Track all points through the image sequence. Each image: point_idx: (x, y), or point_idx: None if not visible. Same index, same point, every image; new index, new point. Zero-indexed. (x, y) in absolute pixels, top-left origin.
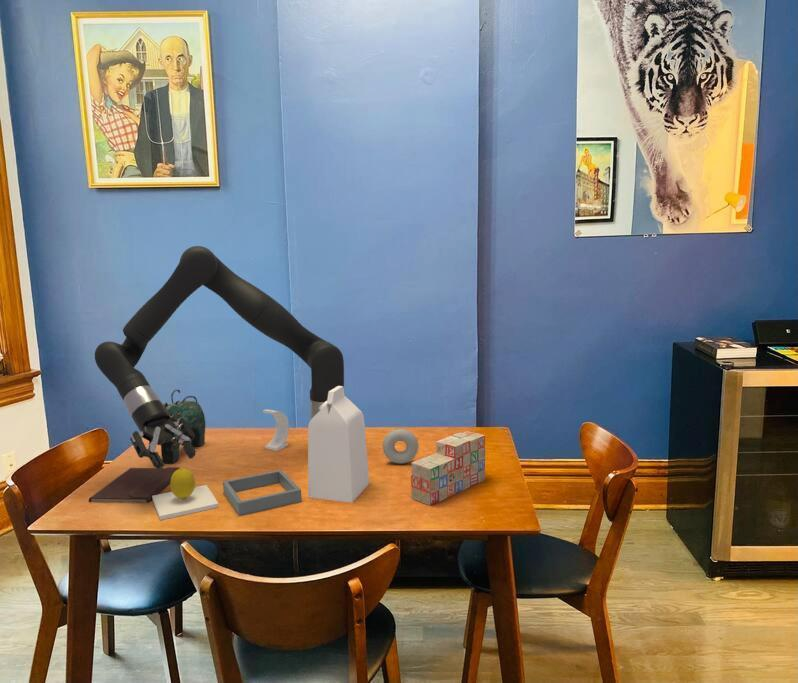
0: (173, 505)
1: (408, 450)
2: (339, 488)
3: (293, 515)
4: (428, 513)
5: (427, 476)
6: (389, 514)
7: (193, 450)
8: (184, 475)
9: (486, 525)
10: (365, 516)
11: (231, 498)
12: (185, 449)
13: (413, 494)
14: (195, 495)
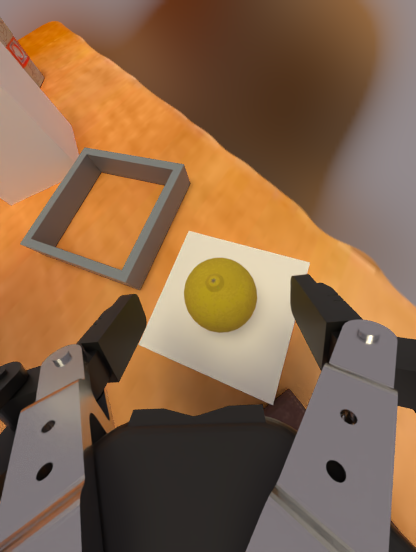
0: (259, 292)
1: None
2: (57, 117)
3: (141, 138)
4: (62, 68)
5: (5, 29)
6: (81, 83)
7: (115, 303)
8: (222, 259)
9: (64, 33)
10: (98, 92)
11: (164, 218)
12: (124, 352)
13: None
14: None
